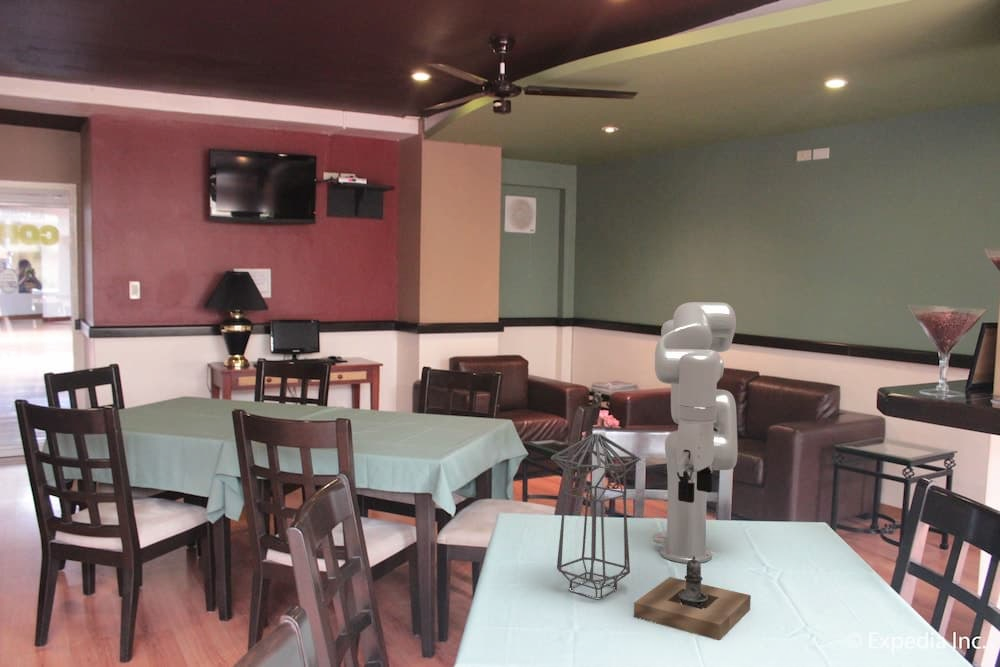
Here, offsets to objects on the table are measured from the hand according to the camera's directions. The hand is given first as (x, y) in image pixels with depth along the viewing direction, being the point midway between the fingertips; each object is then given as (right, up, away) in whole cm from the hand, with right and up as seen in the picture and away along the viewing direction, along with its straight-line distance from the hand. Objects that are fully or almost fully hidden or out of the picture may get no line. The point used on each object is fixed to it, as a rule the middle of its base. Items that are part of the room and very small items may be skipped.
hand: (695, 496), depth 164 cm
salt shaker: (0, -25, +1) cm, 25 cm away
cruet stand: (0, -24, +1) cm, 24 cm away
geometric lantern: (-19, -24, +14) cm, 33 cm away
